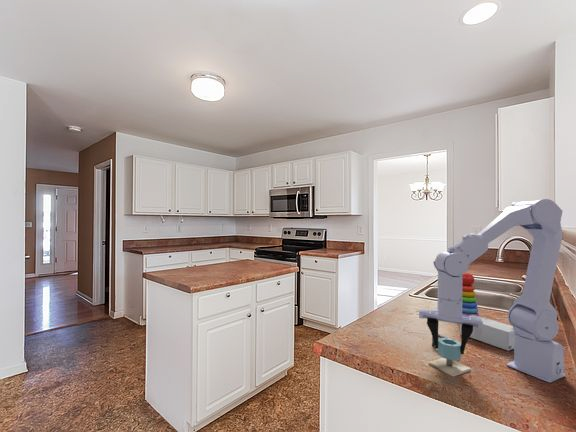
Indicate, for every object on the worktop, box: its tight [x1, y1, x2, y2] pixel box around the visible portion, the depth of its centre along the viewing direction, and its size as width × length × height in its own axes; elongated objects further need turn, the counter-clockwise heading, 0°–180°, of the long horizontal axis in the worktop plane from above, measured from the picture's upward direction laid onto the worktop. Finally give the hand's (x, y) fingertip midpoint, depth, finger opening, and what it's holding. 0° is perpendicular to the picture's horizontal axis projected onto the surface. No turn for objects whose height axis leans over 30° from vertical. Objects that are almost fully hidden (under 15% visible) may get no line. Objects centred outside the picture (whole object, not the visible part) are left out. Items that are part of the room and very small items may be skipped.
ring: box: [437, 337, 462, 361], centre depth 78 cm, size 5×5×4 cm
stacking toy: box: [462, 272, 480, 317], centre depth 113 cm, size 8×8×19 cm
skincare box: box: [459, 315, 514, 352], centre depth 95 cm, size 8×6×15 cm
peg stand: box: [428, 357, 472, 377], centre depth 78 cm, size 7×7×5 cm
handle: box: [431, 333, 451, 347], centre depth 86 cm, size 10×6×4 cm, turn 27°
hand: (449, 350), depth 78 cm, fingers closed on ring, 5 cm apart
